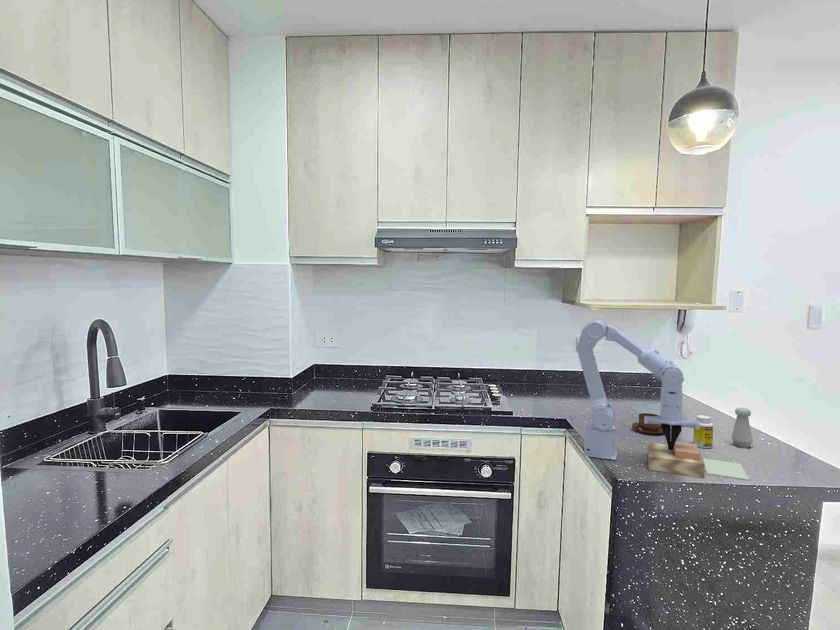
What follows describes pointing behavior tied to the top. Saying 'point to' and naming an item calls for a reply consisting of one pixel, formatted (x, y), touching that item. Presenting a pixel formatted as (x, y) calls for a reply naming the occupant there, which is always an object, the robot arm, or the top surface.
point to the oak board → (673, 461)
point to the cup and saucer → (647, 425)
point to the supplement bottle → (703, 432)
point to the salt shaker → (742, 428)
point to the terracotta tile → (686, 451)
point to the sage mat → (725, 469)
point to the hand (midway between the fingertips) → (670, 449)
